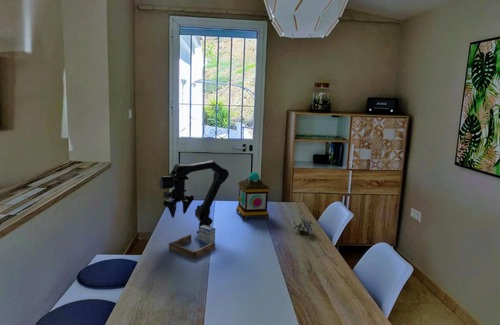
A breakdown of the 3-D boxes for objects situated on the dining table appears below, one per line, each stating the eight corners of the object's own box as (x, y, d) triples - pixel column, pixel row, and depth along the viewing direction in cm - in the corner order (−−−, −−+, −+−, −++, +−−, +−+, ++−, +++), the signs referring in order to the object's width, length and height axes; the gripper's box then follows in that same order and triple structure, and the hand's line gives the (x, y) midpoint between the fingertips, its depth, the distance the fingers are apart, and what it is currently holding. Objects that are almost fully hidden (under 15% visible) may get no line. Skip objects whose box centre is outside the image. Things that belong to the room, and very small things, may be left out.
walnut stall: (189, 240, 195) (190, 234, 195) (214, 248, 186) (215, 242, 186) (169, 249, 182) (169, 243, 182) (194, 259, 173) (194, 252, 173)
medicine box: (198, 242, 194) (198, 226, 192) (203, 239, 198) (204, 224, 196) (209, 245, 190) (210, 230, 188) (215, 243, 194) (215, 227, 192)
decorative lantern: (233, 211, 247) (235, 168, 242) (261, 210, 253) (263, 168, 248) (241, 221, 229) (244, 175, 223) (271, 220, 234) (274, 174, 229)
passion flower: (308, 243, 214) (314, 232, 206) (290, 238, 214) (296, 227, 206) (309, 227, 222) (315, 216, 214) (291, 223, 222) (297, 211, 214)
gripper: (179, 182, 207) (178, 208, 209) (155, 188, 191) (155, 216, 193) (194, 185, 201) (193, 212, 204) (171, 192, 185) (170, 221, 188)
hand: (178, 215), depth 197 cm, fingers open, 9 cm apart
